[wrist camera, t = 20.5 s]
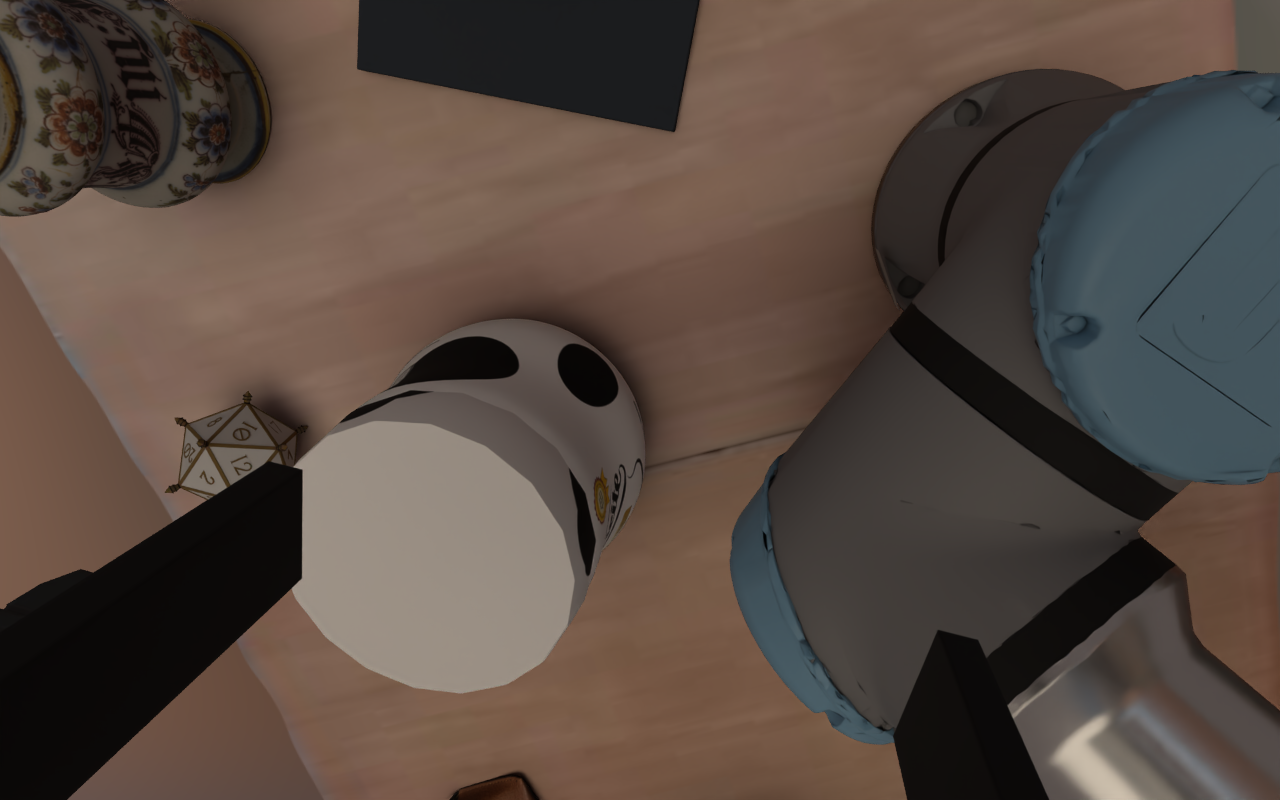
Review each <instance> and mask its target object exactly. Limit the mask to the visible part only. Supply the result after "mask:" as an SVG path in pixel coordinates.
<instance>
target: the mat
mask: <svg viewBox="0 0 1280 800" xmlns="http://www.w3.org/2000/svg"><path fill="white" fill-rule="evenodd" d="M699 1H700V0H359V27H358V60H357V69H359V70H364V71H369V72H374V73H379V74H384V75H389V76H394V77H399V78H404V79H409V80H414V81H419V82H424V83H429V84H434V85H440V86H445V87H450V88H455V89H460V90H465V91H470V92H475V93H480V94H485V95H490V96H495V97H500V98H505V99H510V100H515V101H520V102H526V103H531V104H536V105H541V106H546V107H551V108H556V109H561V110H566V111H571V112H576V113H581V114H586V115H591V116H596V117H601V118H606V119H612V120H617V121H622V122H627V123H632V124H637V125H642V126H647V127H652V128H657V129H662V130H667V131H672V132H674V131H675V128H676V123H677V117H678V112H679V107H680V101H681V96H682V91H683V86H684V80H685V75H686V70H687V64H688V59H689V54H690V48H691V43H692V38H693V33H694V27H695V22H696V17H697V11H698V6H699Z"/></svg>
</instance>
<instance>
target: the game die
mask: <svg viewBox="0 0 1280 800" xmlns="http://www.w3.org/2000/svg"><path fill="white" fill-rule="evenodd" d="M243 396H244V398H243V400H244V403H242V404H239V405H237V406H234V407H231V408H228V409H226V410H223V411H220V412H218V413H215V414H212V415H210V416H207V417H204V418H201V419H199V420H196V421H193V422H191V423H187V421H186V419H185V420H184V419H183V417H182V418H175V420H176V422H177V424H179V425H180V426H184V427H185V433H184V441H183V449H182V457H181V465H180V473H179V481H178V484H176V485H172V486H169V487H168V489H167V490H166V491H165V493H173V492H175V491H176V492H177V490H178V489H180V488H182V489H184V490H186V491H189V492H191V493H193V494H195V495H197V496H200V497H202V498H204V499H206V500H208V499H210V498H211V497H213V496H215V495H216V494H218V493H219V492H221V491H222V490H224V489H226V488H227V487H229V486H230V485H232V484H233V483H235V482H237V481H238V480H240V479H241V478H243V477H244V476H246V475H248V474H249V473H251V472H252V471H254V470H255V469H257V468H259V467H260V466H262V465H263V464H265V463H266V462H268V461H270V462H274V463H278V464H282V465H286V466H290V467H294V466H295V460H296V447H297V434H298V433H302V432H305V430H306V429H307V428H308V426H302V425H301V427H298V428H297V429H296V430H294V429H293V428H291V427H289V426H288V425H286V424H284V423H282V422H281V421H279V420H277V419H276V418H274V417H272V416H270V415H269V414H267V413H265V412H264V411H262V410H260V409H258V408H257V407H255V406H253V405H252V404H250V401H251V400H252V399H251V397H252V396H251V394H250V393H249V391H247V392H246V394H245V395H243Z"/></svg>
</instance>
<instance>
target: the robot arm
mask: <svg viewBox="0 0 1280 800" xmlns="http://www.w3.org/2000/svg"><path fill="white" fill-rule="evenodd" d="M871 231H872V245H873V251H874V256H875V260H876V264H877V267H878V270H879V273H880V275H881V278H882V280H883V282H884V284H885V286H886V288H887V289H888V291H889V292H890V294H891V295H892V298H893V301H894V304H895V306H896V307H897V308H898V309H899V307H898V305H897V303H898V304H899V306H900V307H901V308H902V309H903V310H904V312H903V313H902V314H901V316H900V317H899V318H898V319H897V321H896V322H895V323H894V324H893V325H892V326H891V327H890V328H889V329H888V330H887V332H886V333H885V334H884V335H883V336H882V338H881V339H880V340H879V341H878V343H877V344H876V345H875V346H874V347H873V349H872V350H871V351H870V352H869V353H868V355H867V356H866V357H865V358H864V359H863V361H862V362H861V363H860V364H859V365H858V367H857V368H856V369H855V370H854V371H853V373H852V374H851V375H850V376H849V377H848V379H847V380H846V381H845V382H844V383H843V385H842V386H841V387H840V388H839V389H838V391H837V392H836V393H835V394H834V395H833V397H832V398H831V399H830V400H829V401H828V403H827V404H826V405H825V406H824V407H823V409H822V410H821V411H820V412H819V413H818V415H817V416H816V417H815V418H814V419H813V421H812V422H811V423H810V424H809V425H808V427H807V428H806V429H805V430H804V431H803V433H802V434H801V435H800V436H799V437H798V439H797V440H796V441H795V442H794V443H793V445H792V446H791V447H790V448H789V449H788V451H786V452H785V453H784V454H782V455H780V456H778V457H777V458H776V460H775V461H774V462H773V463H772V465H771V466H770V468H769V470H768V472H767V474H766V476H765V480H764V483H763V484H762V486H761V487H760V488H759V490H758V491H757V493H756V494H755V495H754V497H753V498H752V499H751V501H750V502H749V503H748V505H747V506H746V507H745V509H744V510H743V512H742V513H741V515H740V516H739V518H738V520H737V522H736V525H735V527H734V530H733V533H732V550H731V553H730V554H731V557H730V570H731V577H732V582H733V587H734V591H735V594H736V597H737V601H738V604H739V606H740V609H741V612H742V614H743V617H744V619H745V621H746V623H747V625H748V627H749V629H750V631H751V633H752V635H753V637H754V639H755V641H756V642H757V644H758V646H759V648H760V649H761V651H762V653H763V654H764V656H765V657H766V659H767V660H768V662H769V663H770V665H771V666H772V668H773V669H774V670H775V672H776V673H777V674H778V676H779V677H780V678H781V679H782V681H783V682H784V683H785V684H786V685H787V687H788V688H789V689H790V690H791V691H792V692H793V693H794V694H795V695H796V696H797V698H798V699H799V700H800V701H801V702H802V703H804V704H805V705H806V706H807V707H808V708H809V709H810V710H811V711H812V712H814V713H820V712H824V711H825V713H826V714H827V716H828V719H829V721H830V723H831V725H832V727H833V728H835V729H836V730H838V731H840V732H841V733H843V734H845V735H846V736H848V737H850V738H852V739H855V740H858V741H861V742H864V743H869V744H888V743H891V742H892V743H895V747H896V751H897V756H898V760H899V765H900V769H901V773H902V778H903V782H904V787H905V791H906V795H907V800H1280V711H1279V710H1278V709H1277V708H1276V707H1275V706H1274V705H1272V704H1271V703H1270V702H1269V701H1268V700H1266V699H1265V698H1264V697H1263V696H1262V695H1261V694H1259V693H1258V692H1257V691H1256V690H1255V689H1253V688H1252V687H1251V686H1250V685H1249V684H1248V683H1246V682H1245V681H1244V680H1243V679H1242V678H1240V677H1239V676H1238V675H1237V674H1236V673H1235V672H1233V671H1232V670H1231V669H1230V668H1229V667H1227V666H1226V665H1225V664H1224V663H1223V662H1222V661H1220V660H1219V659H1218V658H1217V657H1216V656H1214V655H1213V654H1212V653H1211V652H1210V651H1209V650H1207V649H1206V648H1205V647H1204V646H1203V645H1202V643H1201V642H1200V641H1199V639H1198V638H1197V637H1196V635H1195V634H1194V631H1193V627H1192V619H1191V611H1190V604H1189V596H1188V588H1187V580H1186V574H1185V573H1184V572H1183V571H1182V570H1181V569H1180V568H1179V567H1178V566H1177V565H1176V564H1175V563H1173V562H1172V561H1171V560H1170V559H1168V558H1167V557H1166V556H1165V555H1163V554H1162V553H1161V552H1160V551H1158V550H1157V549H1156V548H1155V547H1153V546H1152V545H1151V544H1150V543H1148V542H1147V541H1146V540H1145V539H1144V538H1142V537H1141V536H1140V534H1139V533H1138V529H1139V528H1140V527H1141V526H1142V525H1143V524H1144V523H1145V522H1146V521H1147V520H1149V519H1150V518H1151V517H1152V516H1153V515H1154V514H1155V513H1156V512H1158V511H1159V510H1160V509H1161V508H1162V507H1163V506H1164V505H1165V504H1167V503H1168V502H1169V501H1170V500H1171V499H1172V498H1173V497H1175V496H1176V495H1177V494H1178V493H1179V492H1180V491H1181V490H1183V489H1184V488H1185V487H1186V486H1187V485H1189V484H1190V483H1191V482H1192V481H1194V482H1204V483H1213V484H1230V485H1245V484H1254V483H1258V482H1261V481H1264V479H1265V477H1266V475H1267V473H1274V472H1280V73H1257V72H1256V71H1236V70H1230V71H1213V72H1210V73H1207V74H1204V75H1193V76H1192V77H1186V78H1182V79H1179V80H1175V81H1172V82H1167V83H1162V84H1157V85H1151V86H1146V87H1141V88H1136V89H1131V90H1124V89H1122V88H1120V87H1118V86H1117V85H1115V84H1113V83H1111V82H1108V81H1106V80H1104V79H1101V78H1098V77H1095V76H1092V75H1088V74H1084V73H1079V72H1074V71H1067V70H1059V69H1035V70H1025V71H1019V72H1013V73H1009V74H1005V75H1002V76H998V77H995V78H991V79H988V80H985V81H983V82H980V83H977V84H975V85H973V86H970V87H968V88H966V89H964V90H962V91H960V92H958V93H957V94H955V95H953V96H952V97H950V98H948V99H947V100H945V101H944V102H943V103H941V104H940V105H938V106H937V107H936V108H934V109H933V110H932V111H931V112H930V113H928V114H927V115H926V116H925V117H924V118H923V119H922V120H921V121H920V122H919V123H918V124H917V125H916V126H915V127H914V128H913V129H912V130H911V131H910V132H909V134H908V135H907V136H906V137H905V139H904V140H903V141H902V143H901V144H900V145H899V147H898V148H897V150H896V151H895V153H894V155H893V156H892V158H891V160H890V162H889V163H888V165H887V167H886V170H885V172H884V174H883V176H882V179H881V181H880V184H879V187H878V190H877V194H876V198H875V202H874V207H873V214H872V229H871ZM899 311H900V310H899ZM302 506H303V470H302V469H298V468H294V467H290V466H286V465H282V464H278V463H274V462H270V461H268V462H266V463H265V464H263V465H262V466H260V467H259V468H257V469H255V470H254V471H252V472H251V473H249V474H248V475H246V476H244V477H243V478H241V479H240V480H238V481H237V482H235V483H233V484H232V485H230V486H229V487H227V488H226V489H224V490H222V491H221V492H219V493H218V494H216V495H215V496H213V497H211V498H210V499H208V500H207V501H205V502H204V503H202V504H200V505H199V506H197V507H196V508H194V509H193V510H191V511H189V512H188V513H186V514H185V515H183V516H182V517H180V518H179V519H177V520H175V521H174V522H172V523H171V524H169V525H168V526H166V527H165V528H163V529H162V530H160V531H158V532H157V533H155V534H153V535H152V536H150V537H149V538H147V539H146V540H144V541H142V542H141V543H139V544H138V545H136V546H135V547H133V548H132V549H130V550H128V551H127V552H125V553H124V554H122V555H120V556H119V557H117V558H116V559H114V560H113V561H111V562H109V563H108V564H106V565H105V566H103V567H102V568H100V569H99V570H97V571H95V572H94V573H92V572H89V571H85V570H82V569H80V570H77V571H75V572H72V573H69V574H66V575H64V576H61V577H58V578H55V579H53V580H50V581H47V582H44V583H42V584H40V585H38V586H36V587H35V588H33V589H31V590H30V591H28V592H26V593H25V594H23V595H21V596H20V597H18V598H17V599H15V600H13V601H12V602H10V603H8V604H7V606H6V608H5V609H0V800H67V799H68V798H69V797H70V796H71V795H72V794H73V793H75V792H76V791H77V790H78V789H79V788H80V787H81V786H82V785H83V784H84V783H85V782H86V781H87V780H88V779H89V778H90V777H92V776H93V775H94V774H95V773H96V772H97V771H98V770H99V769H100V768H101V767H102V766H103V765H104V764H105V763H106V762H107V761H108V760H110V758H112V757H113V756H114V755H115V754H116V753H117V752H118V751H119V750H120V749H121V748H122V747H123V746H124V745H126V744H127V743H128V742H129V741H130V740H131V739H132V738H133V737H134V736H135V735H136V734H137V733H138V732H139V731H140V730H141V729H143V728H144V727H145V726H146V725H147V724H148V723H149V722H150V721H151V720H152V719H153V718H154V717H155V716H156V715H157V714H159V713H160V712H161V711H162V710H163V709H164V708H165V707H166V706H167V705H168V704H169V703H170V702H171V701H172V700H173V699H174V698H175V697H177V696H178V694H180V693H181V692H182V691H183V690H184V689H185V688H186V687H187V686H188V685H189V684H190V683H191V682H193V680H195V679H196V678H197V677H198V676H199V675H200V674H201V673H202V672H203V671H204V670H205V669H206V668H207V667H208V666H210V665H211V664H212V663H213V662H214V661H215V660H216V659H217V658H218V657H219V656H220V655H221V654H222V653H223V652H224V651H225V650H227V649H228V648H229V647H230V646H231V645H232V644H233V643H234V642H235V641H236V640H237V639H238V638H239V637H240V636H241V635H243V634H244V633H245V632H246V631H247V630H248V629H249V628H250V627H251V626H252V625H253V624H254V623H255V622H256V621H257V620H258V619H260V618H261V617H262V616H263V615H264V614H265V613H266V612H267V611H268V610H269V609H270V608H271V607H272V606H273V605H274V604H275V603H277V602H278V601H279V600H280V599H281V598H282V597H283V596H284V595H285V594H286V593H287V592H288V591H289V590H290V589H291V588H292V587H294V586H295V585H296V584H297V583H298V582H299V581H300V580H301V579H302Z"/></svg>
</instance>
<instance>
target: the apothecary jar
mask: <svg viewBox="0 0 1280 800" xmlns="http://www.w3.org/2000/svg"><path fill="white" fill-rule="evenodd" d="M270 123H271V117H270V107H269V102H268V97H267V93H266V89H265V86H264V84H263V81H262V79H261V77H260V75H259V73H258V70H257V68H256V67H255V65H254V63H253V62H252V60H251V59H250V57H249V56H248V55H247V53H246V52H245V51H244V50H243V49H242V47H241V46H240V45H239V44H238V43H237V42H236V41H235V40H233V39H232V38H231V37H230V36H229V35H227V34H226V33H224V32H223V31H221V30H220V29H218V28H216V27H214V26H212V25H210V24H208V23H205V22H202V21H198V20H192V19H187V18H186V17H185V16H183V15H182V14H181V13H180V12H179V11H178V10H176V9H175V8H174V7H173V6H171V5H170V4H169V3H167V2H166V1H164V0H0V215H1V216H28V215H34V214H38V213H43V212H47V211H50V210H52V209H54V208H56V207H58V206H61V205H62V204H64V203H66V202H67V201H69V200H70V199H71V198H73V197H74V196H75V195H76V194H77V193H78V192H79V191H80V190H81V189H82V188H93V189H94V190H96V191H98V192H100V193H101V194H103V195H105V196H107V197H109V198H112V199H114V200H117V201H119V202H122V203H126V204H130V205H134V206H139V207H149V208H161V207H169V206H174V205H177V204H180V203H183V202H186V201H188V200H191V199H193V198H194V197H196V196H198V195H199V194H200V193H202V192H203V191H204V190H205V189H206V188H208V187H209V186H210V185H211V183H227V182H232V181H235V180H238V179H240V178H242V177H243V176H245V175H246V174H248V173H249V172H250V171H251V170H252V169H253V168H254V167H255V166H256V165H257V164H258V162H259V161H260V159H261V157H262V156H263V154H264V151H265V149H266V146H267V143H268V139H269V134H270Z"/></svg>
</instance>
